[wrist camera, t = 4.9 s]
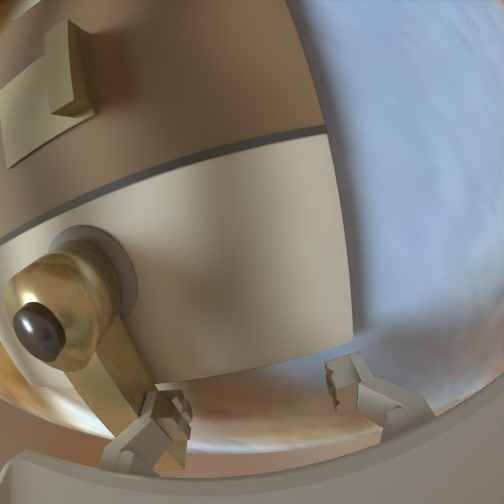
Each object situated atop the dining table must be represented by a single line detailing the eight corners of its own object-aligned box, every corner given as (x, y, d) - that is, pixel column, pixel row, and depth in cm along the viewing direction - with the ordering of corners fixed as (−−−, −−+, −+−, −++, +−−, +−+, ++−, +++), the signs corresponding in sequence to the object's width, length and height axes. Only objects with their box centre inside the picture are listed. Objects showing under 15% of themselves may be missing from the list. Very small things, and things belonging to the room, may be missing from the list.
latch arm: (36, 250, 8) (-20, 289, 5) (104, 229, 8) (45, 272, 5) (142, 435, 12) (132, 483, 9) (199, 435, 12) (196, 488, 9)
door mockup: (247, -61, 6) (250, -97, 3) (344, 326, 13) (368, 366, 10) (-49, 104, 6) (-78, 105, 3) (38, 375, 13) (20, 402, 10)
